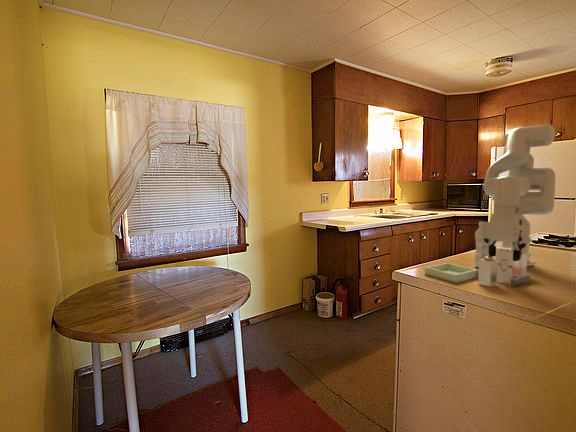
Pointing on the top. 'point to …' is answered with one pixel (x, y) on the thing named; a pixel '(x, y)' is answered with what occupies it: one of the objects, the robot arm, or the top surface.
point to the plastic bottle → (481, 243)
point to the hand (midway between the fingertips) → (503, 258)
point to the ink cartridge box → (504, 264)
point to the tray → (451, 272)
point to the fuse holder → (489, 271)
